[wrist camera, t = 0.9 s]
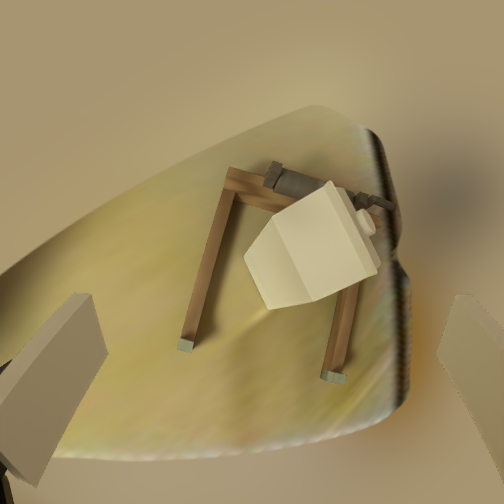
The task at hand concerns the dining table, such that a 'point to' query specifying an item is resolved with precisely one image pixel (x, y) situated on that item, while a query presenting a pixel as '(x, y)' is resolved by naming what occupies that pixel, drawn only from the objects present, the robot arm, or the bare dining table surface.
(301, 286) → the milk carton
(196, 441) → the dining table surface
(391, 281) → the dining table surface
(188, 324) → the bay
